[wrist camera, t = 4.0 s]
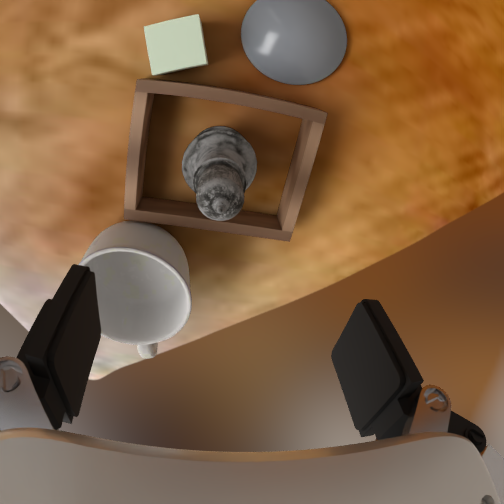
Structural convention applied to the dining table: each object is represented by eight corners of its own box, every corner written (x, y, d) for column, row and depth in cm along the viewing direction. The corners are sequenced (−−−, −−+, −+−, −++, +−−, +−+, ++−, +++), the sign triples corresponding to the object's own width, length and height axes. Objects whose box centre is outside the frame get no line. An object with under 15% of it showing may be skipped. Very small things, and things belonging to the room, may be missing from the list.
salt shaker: (200, 112, 25) (188, 142, 15) (263, 137, 27) (293, 184, 16) (176, 172, 27) (153, 239, 17) (236, 194, 29) (247, 269, 19)
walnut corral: (145, 78, 22) (137, 79, 20) (316, 108, 25) (327, 113, 23) (131, 205, 28) (124, 219, 26) (283, 226, 31) (289, 241, 29)
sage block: (154, 33, 20) (143, 26, 17) (201, 22, 20) (198, 14, 17) (161, 74, 23) (152, 75, 19) (208, 64, 23) (206, 63, 19)
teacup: (93, 201, 28) (61, 243, 21) (201, 213, 30) (196, 259, 23) (102, 308, 35) (85, 358, 28) (188, 319, 37) (185, 372, 30)
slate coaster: (253, -20, 19) (254, -22, 18) (353, 9, 20) (356, 8, 20) (230, 71, 23) (230, 71, 23) (331, 96, 25) (333, 96, 24)
